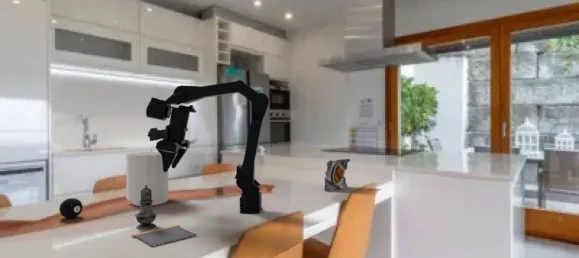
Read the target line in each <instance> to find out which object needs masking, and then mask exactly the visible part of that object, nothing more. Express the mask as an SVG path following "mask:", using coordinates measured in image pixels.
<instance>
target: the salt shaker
mask: <svg viewBox="0 0 579 258" xmlns="http://www.w3.org/2000/svg"><path fill="white" fill-rule="evenodd" d="M152 201H153V200H152V197H151V189H149V188H147V185H145V188H144V189H142V190H141V200H140V201H139V202H140V206H139V207H140V208H139V209H140V210H139V212H138V213H136V214H134V217H135V219H136V221H137V223H139V224H138V225H137V226H136V229H137V230H140V231H141V230H144V231H145V230H151V229H155V228H156V227H157V224H155V223H154V222H155V220H156V218H157V215H158V212H157V211H154V210H153V205H152Z"/></svg>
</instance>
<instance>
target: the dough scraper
mask: <svg viewBox="0 0 579 258" xmlns="http://www.w3.org/2000/svg"><path fill="white" fill-rule="evenodd" d="M195 235H197V236H198V233H197V234H196V233H194V232H192V231H190V230H187V229H185V228H184V227H183V228H182V227H181V226H180V225H179V224H174V225H171V226H170V225H169V226H166V227H161V228H155V229H153V230H151V229H150V230H148V231H143V232H138V233H134V234H131V236H130V237H131V238H133V239H134V238H136V239H137V240H139V241H140V242H142V241H143V242H142V243H144V242H145V243H144V244H146V243H147V244H148V245H147V244H146V245H147V246H149V245H151V246H154V245H158V244H162V243H166V244H168V243H167V242H170V243H172V242H171V241H174V240H178V241H180V240H179V239H182V240H184V239H183V238H186V237H190V238H193V237H192V236H194V237H196V236H195ZM186 239H187V238H186ZM174 242H175V241H174ZM162 245H163V244H162ZM151 246H150V247H151ZM158 246H159V245H158ZM154 247H155V246H154Z"/></svg>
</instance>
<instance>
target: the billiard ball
mask: <svg viewBox="0 0 579 258" xmlns="http://www.w3.org/2000/svg"><path fill="white" fill-rule="evenodd" d="M58 210H59V214H60V215H61V216H62V217H63V218H65V217H66V219H73V217H74V218H76V217H78V216H79V215H81V214H82V211H83V203H82V201H81V200H80V199H78V198H76V197H75V198H66V199H65V200H63V201H62V202H61V203H60V205H59V209H58Z"/></svg>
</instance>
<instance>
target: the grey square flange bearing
mask: <svg viewBox="0 0 579 258" xmlns="http://www.w3.org/2000/svg"><path fill="white" fill-rule="evenodd" d="M350 161H351V159H350V158H345V159H344V158H343V159H335V160H332V159H330V160H328V161H327V162H325V163H326V171H325V173H324V174H325V177H324V191H325V192H328V193H332V191H334V189H341V188H347V187H348V184H347V183H346V180H347V178H346V177H345V172H346V171H347V169H348V163H349V162H350Z"/></svg>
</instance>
